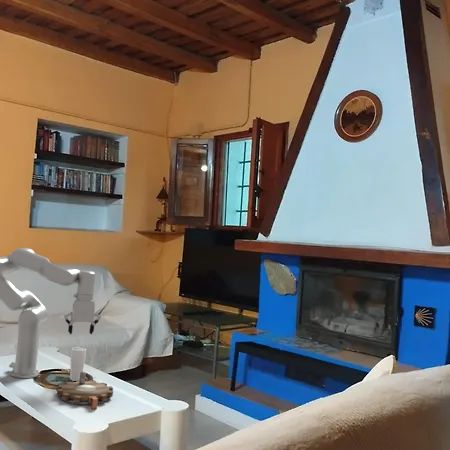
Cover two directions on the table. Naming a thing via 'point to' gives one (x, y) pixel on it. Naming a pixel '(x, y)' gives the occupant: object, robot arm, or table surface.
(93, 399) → the sprocket stand
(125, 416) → the table surface
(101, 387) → the sprocket
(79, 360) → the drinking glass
